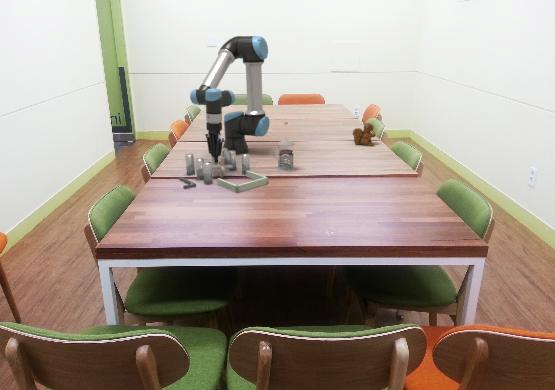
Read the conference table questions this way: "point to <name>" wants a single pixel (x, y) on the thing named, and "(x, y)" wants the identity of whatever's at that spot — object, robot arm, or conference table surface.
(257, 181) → the corral
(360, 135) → the stuffed squirrel
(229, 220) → the conference table surface
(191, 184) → the hook bar
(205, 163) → the set of silver pegs
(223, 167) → the beige rod cross
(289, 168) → the french press
